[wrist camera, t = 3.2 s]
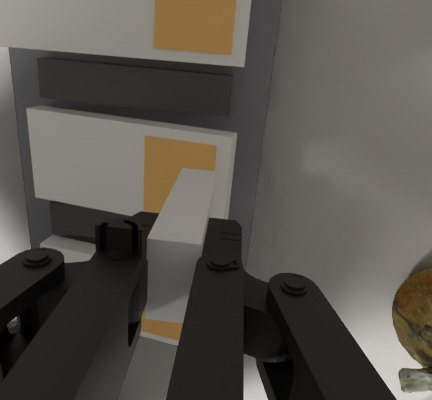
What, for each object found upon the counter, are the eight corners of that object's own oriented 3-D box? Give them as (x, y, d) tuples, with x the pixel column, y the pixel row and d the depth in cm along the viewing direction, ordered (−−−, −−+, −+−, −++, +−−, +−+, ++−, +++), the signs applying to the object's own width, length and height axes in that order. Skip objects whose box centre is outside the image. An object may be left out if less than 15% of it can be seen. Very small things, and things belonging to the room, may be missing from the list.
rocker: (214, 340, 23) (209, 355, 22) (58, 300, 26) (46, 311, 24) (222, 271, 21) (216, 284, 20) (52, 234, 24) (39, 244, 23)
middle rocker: (227, 224, 20) (221, 234, 19) (49, 190, 23) (34, 197, 21) (237, 132, 18) (231, 137, 17) (41, 105, 21) (25, 108, 20)
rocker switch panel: (235, 317, 29) (234, 356, 26) (58, 297, 30) (32, 333, 26) (288, -87, 20) (299, -119, 16) (23, -110, 20) (-27, -146, 16)
